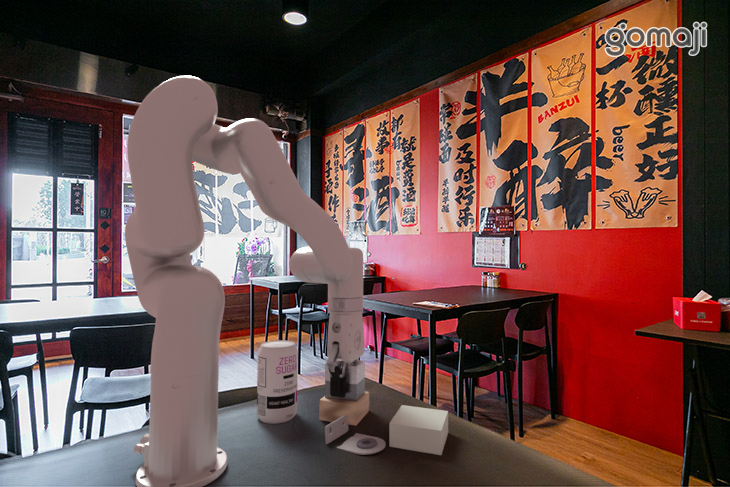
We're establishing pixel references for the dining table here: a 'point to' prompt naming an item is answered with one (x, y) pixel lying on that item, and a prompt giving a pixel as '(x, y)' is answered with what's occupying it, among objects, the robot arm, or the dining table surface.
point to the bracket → (353, 439)
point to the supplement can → (277, 381)
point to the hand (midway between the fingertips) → (345, 389)
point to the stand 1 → (344, 409)
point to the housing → (349, 381)
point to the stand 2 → (419, 429)
